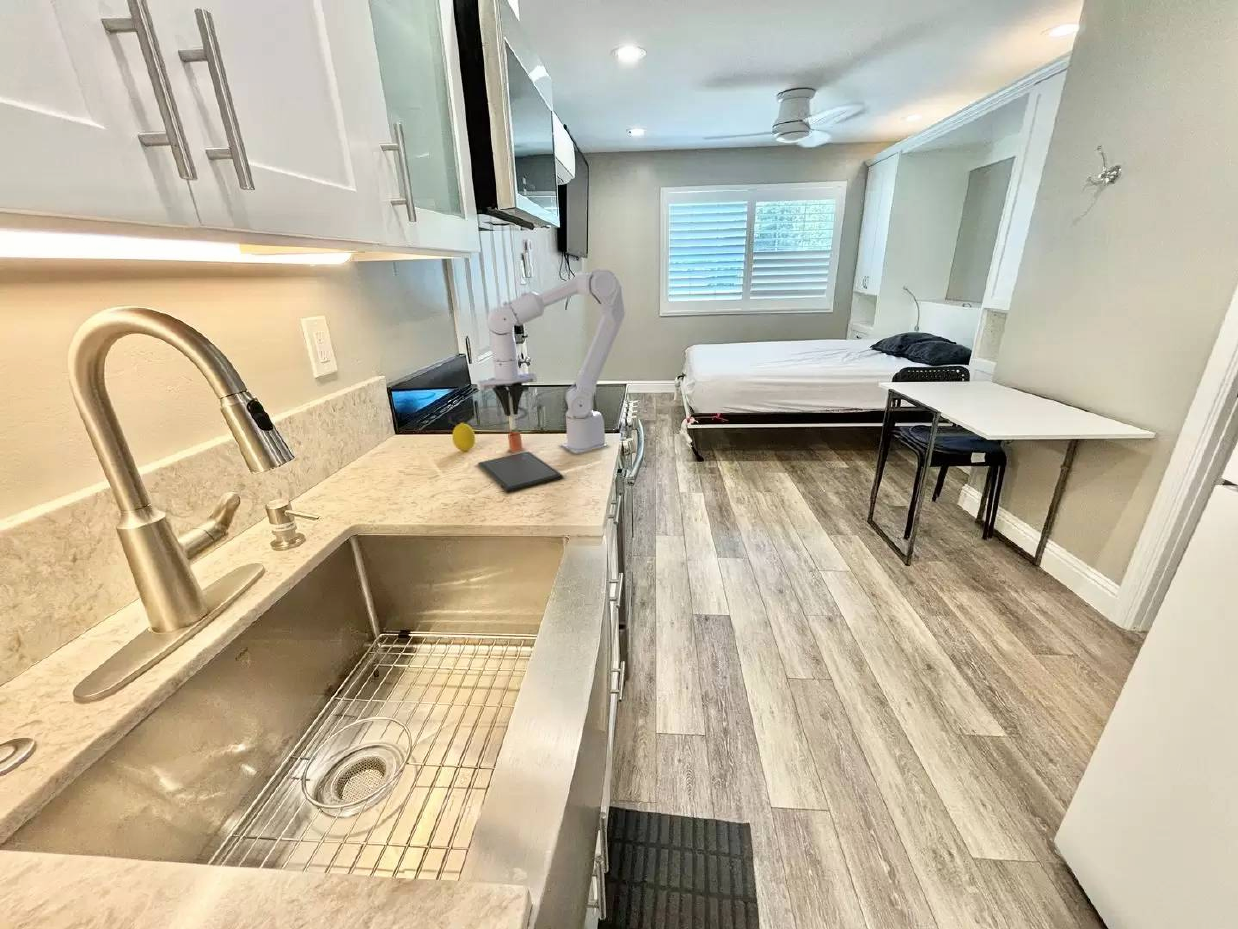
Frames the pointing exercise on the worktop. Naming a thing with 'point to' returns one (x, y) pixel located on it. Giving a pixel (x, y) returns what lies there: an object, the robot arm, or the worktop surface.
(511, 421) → the stylus
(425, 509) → the worktop surface
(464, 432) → the lemon
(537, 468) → the tablet
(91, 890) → the worktop surface
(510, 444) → the holder
